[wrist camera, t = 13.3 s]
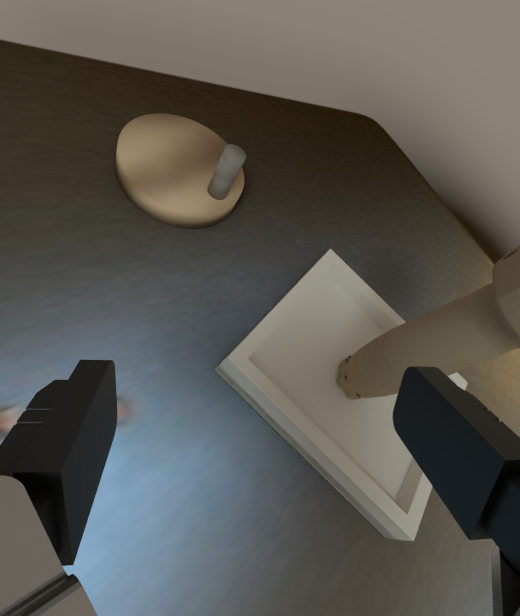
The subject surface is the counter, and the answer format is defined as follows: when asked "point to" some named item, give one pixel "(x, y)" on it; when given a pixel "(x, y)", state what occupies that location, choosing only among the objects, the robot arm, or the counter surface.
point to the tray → (332, 394)
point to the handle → (441, 337)
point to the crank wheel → (179, 170)
